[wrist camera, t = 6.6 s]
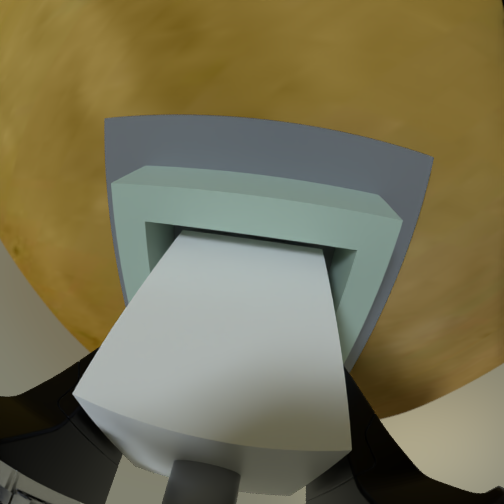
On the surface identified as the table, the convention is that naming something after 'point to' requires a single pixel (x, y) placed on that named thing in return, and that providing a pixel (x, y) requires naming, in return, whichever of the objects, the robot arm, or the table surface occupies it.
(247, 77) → the table surface
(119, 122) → the charging dock
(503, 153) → the table surface
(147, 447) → the plug
